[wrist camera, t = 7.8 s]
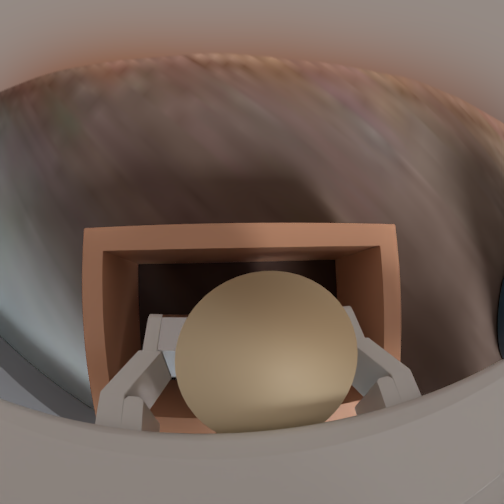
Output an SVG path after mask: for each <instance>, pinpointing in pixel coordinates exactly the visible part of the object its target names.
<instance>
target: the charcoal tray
mask: <svg viewBox="0 0 504 504" xmlns="http://www.w3.org/2000/svg"><path fill="white" fill-rule="evenodd" d="M0 398H1V399H4V400H6V401H9V402H12V403H15V404H18V405H21V406H24V407H27V408H30V409H34V410H37V411H40V412H44V413H47V414H51V415H55V416H59V417H63V418H67V419H72V420H76V421H81V422H86V423H91V424H95V421H96V415H95V410H93V409H92V408H90V407H89V406H87V405H85V404H84V403H82V402H81V401H79V400H78V399H76V398H75V397H73V396H72V395H71V394H69V393H68V392H66V391H65V390H63V389H62V388H61V387H59V386H58V385H57V384H55V383H54V382H53V381H51V380H50V379H49V378H47V377H46V376H45V375H44V374H42V373H41V372H40V371H39V370H37V369H36V368H35V367H34V366H33V365H31V364H30V363H29V362H28V361H27V360H25V359H24V358H23V357H22V356H21V355H20V354H19V353H18V352H16V351H15V350H14V349H13V348H12V347H11V346H10V345H9V344H8V343H7V342H6V341H5V340H4V339H3V338H2V337H1V336H0Z"/></svg>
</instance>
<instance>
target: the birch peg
mask: <svg viewBox="0 0 504 504" xmlns="http://www.w3.org/2000/svg"><path fill="white" fill-rule="evenodd" d="M357 355H358V349H357V340H356V335H355V331H354V328H353V325H352V323H351V320H350V318H349V316H348V314H347V313H346V311H345V309H344V308H343V306H342V305H341V304H340V302H339V301H338V300H337V299H336V298H335V297H334V296H333V295H332V294H331V293H330V292H329V291H328V290H326V289H325V288H324V287H322V286H321V285H319V284H318V283H316V282H314V281H312V280H311V279H308V278H306V277H303V276H300V275H297V274H293V273H289V272H282V271H260V272H253V273H248V274H245V275H241V276H238V277H235V278H233V279H231V280H228V281H226V282H224V283H223V284H221V285H219V286H218V287H216V288H214V289H213V290H212V291H211V292H209V293H208V294H207V295H206V296H204V298H203V299H202V300H201V301H200V302H199V303H198V304H197V305H196V306H195V307H194V309H193V310H192V311H191V313H190V314H189V315H188V317H187V319H186V321H185V323H184V325H183V326H182V329H181V332H180V334H179V337H178V341H177V346H176V351H175V373H176V378H177V382H178V386H179V389H180V391H181V394H182V396H183V398H184V400H185V402H186V404H187V405H188V407H189V408H190V410H191V411H192V412H193V414H194V415H195V416H196V417H197V418H198V419H199V420H200V421H201V422H202V423H203V424H205V425H206V426H207V427H208V428H210V429H211V430H213V431H214V432H216V433H241V432H256V431H267V430H276V429H285V428H292V427H299V426H306V425H312V424H318V423H323V422H325V421H326V420H328V419H329V418H330V417H331V416H332V415H333V414H334V412H335V411H336V410H337V409H338V408H339V406H340V405H341V404H342V402H343V401H344V399H345V397H346V396H347V394H348V392H349V390H350V387H351V385H352V383H353V379H354V376H355V372H356V366H357Z"/></svg>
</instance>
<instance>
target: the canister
mask: <svg viewBox="0 0 504 504" xmlns="http://www.w3.org/2000/svg"><path fill="white" fill-rule="evenodd" d="M498 342H499V348H500V352H501V356H502V358H503V359H504V279H503V283H502V288H501V293H500V299H499V308H498Z"/></svg>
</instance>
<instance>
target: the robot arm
mask: <svg viewBox="0 0 504 504" xmlns="http://www.w3.org/2000/svg"><path fill="white" fill-rule="evenodd" d="M343 308H344V309H345V311H346V313H347V314H348V316H349V318H350V320H351V323H352V325H353V328H354V331H355V335H356V340H357V349H358V355H357V366H356V372H355V376H354V379H353V383H352V386H353V387H354V388H355V389H356V390H357V391H358V392H359V393H360V394H361V395H362V396H363V398H362V399H361V400H360V402H359V403H358V404H357V405H356V406H355V411H356V414H357V415H356V416H352V417H348V418H343V419H339V420H334V421H329V422H323V423H318V424H312V425H306V426H299V427H292V428H285V429H276V430H267V431H256V432H241V433H215V434H192V433H166V432H160V423H159V422H158V421H157V419H156V418H155V416H154V415H153V414H152V412H151V411H150V409H151V407H152V406H153V404H154V403H155V401H156V400H157V398H158V397H159V395H160V394H161V393H162V391H163V390H164V388H165V387H166V385H167V384H168V382H169V381H170V380H171V377H176V373H175V351H176V346H177V341H178V337H179V334H180V332H181V329H182V326H183V325H184V323H185V321H186V319H187V317H188V315H176V314H150V315H149V317H148V321H147V326H146V332H145V338H144V344H143V350H139V351H138V352H137V353H136V354H135V355H134V356H133V357H132V358H131V359H130V360H129V361H128V362H127V363H126V364H125V366H124V367H123V368H122V369H121V370H120V371H119V372H118V373H117V374H116V375H115V376H114V377H113V379H112V380H111V381H110V382H109V383H108V384H107V385H106V386H105V387H104V388H103V389H102V390H101V392H100V397H99V402H98V408H97V414H96V421H95V424H91V423H86V422H81V421H76V420H72V419H67V418H63V417H59V416H55V415H51V414H47V413H44V412H40V411H37V410H34V409H30V408H27V407H24V406H21V405H18V404H15V403H12V402H9V401H6V400H4V399H1V398H0V504H504V359H503V360H500V361H498V362H497V363H495V364H493V365H491V366H489V367H487V368H485V369H483V370H481V371H479V372H477V373H475V374H473V375H471V376H469V377H467V378H464V379H462V380H460V381H458V382H455V383H453V384H451V385H448V386H446V387H444V388H441V389H439V390H436V391H433V392H431V393H428V394H426V395H423V396H421V394H420V391H419V389H418V386H417V384H416V382H415V379H414V377H413V375H412V372H411V370H410V369H409V368H408V367H406V366H405V365H404V364H402V363H401V362H400V361H398V360H397V359H396V358H395V357H393V356H392V355H391V354H389V353H388V352H387V351H385V350H384V349H383V348H381V347H380V346H379V345H378V344H376V343H375V342H374V341H372V340H371V339H370V338H368V337H367V338H365V337H364V334H363V332H362V330H361V328H360V325H359V323H358V321H357V318H356V316H355V314H354V312H353V310H352V307H350V306H343Z"/></svg>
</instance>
